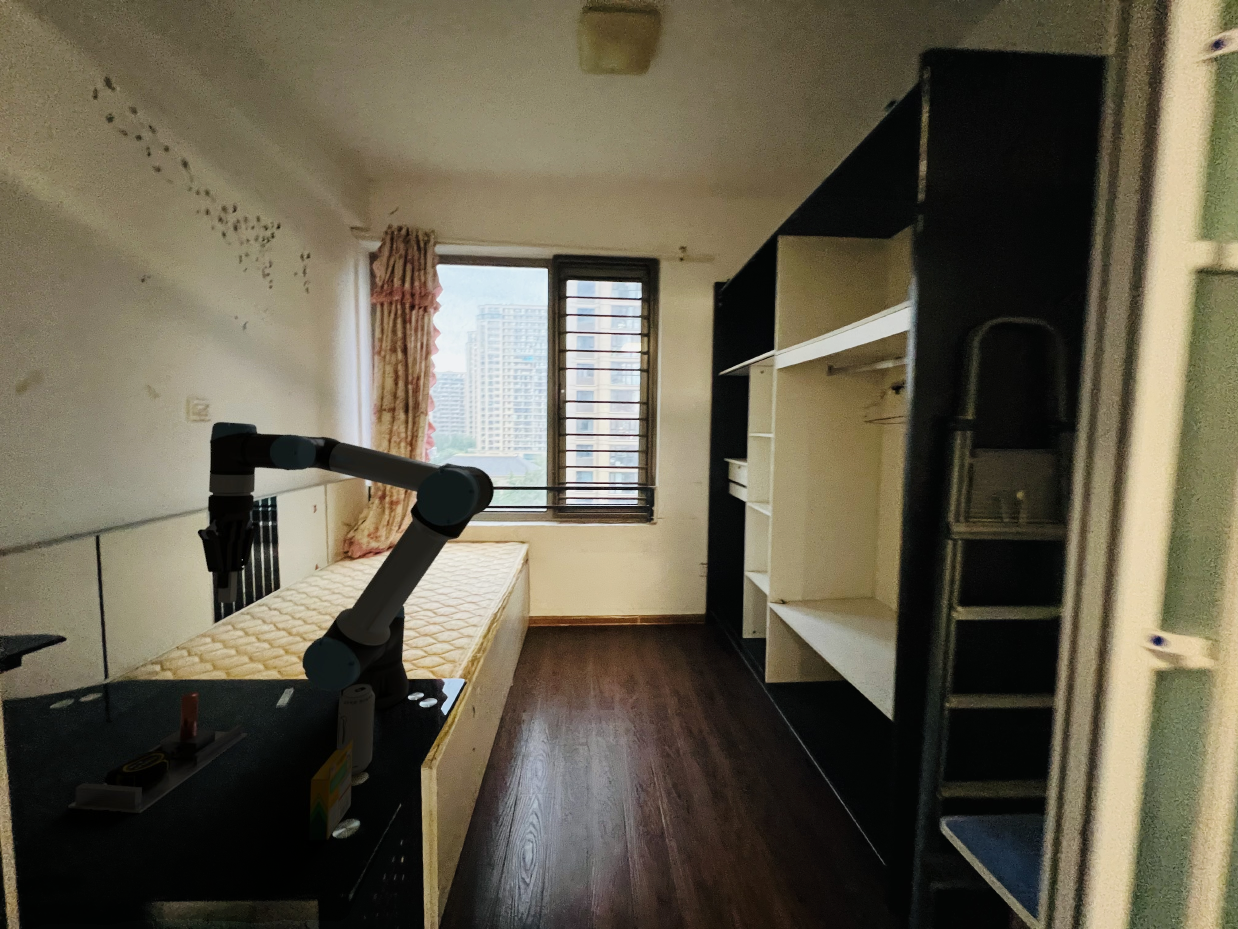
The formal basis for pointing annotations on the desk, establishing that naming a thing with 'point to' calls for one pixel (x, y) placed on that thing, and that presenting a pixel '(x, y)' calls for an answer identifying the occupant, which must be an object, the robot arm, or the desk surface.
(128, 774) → the tape measure
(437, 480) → the robot arm
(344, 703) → the energy drink can
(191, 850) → the desk surface
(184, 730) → the ram
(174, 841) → the desk surface
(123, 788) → the press bed
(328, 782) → the crayon box
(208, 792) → the desk surface
